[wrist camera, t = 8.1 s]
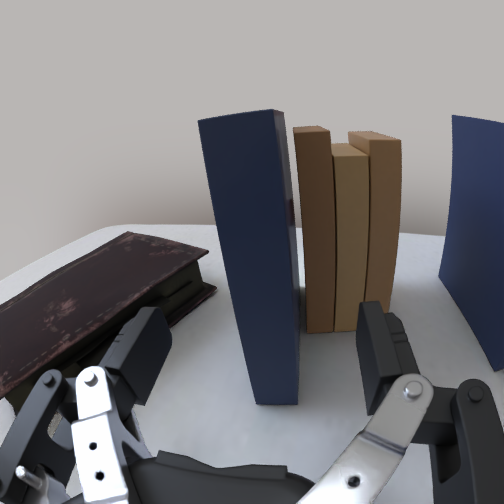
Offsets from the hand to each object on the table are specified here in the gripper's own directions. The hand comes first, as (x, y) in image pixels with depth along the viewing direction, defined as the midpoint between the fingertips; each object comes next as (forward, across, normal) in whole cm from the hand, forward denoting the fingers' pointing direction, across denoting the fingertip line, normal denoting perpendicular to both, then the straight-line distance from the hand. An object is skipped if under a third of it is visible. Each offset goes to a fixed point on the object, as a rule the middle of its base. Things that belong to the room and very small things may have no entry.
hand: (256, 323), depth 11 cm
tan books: (+12, -5, +9) cm, 17 cm away
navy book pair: (+9, -20, +9) cm, 24 cm away
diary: (+9, +21, +10) cm, 25 cm away
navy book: (+9, 0, +9) cm, 13 cm away
